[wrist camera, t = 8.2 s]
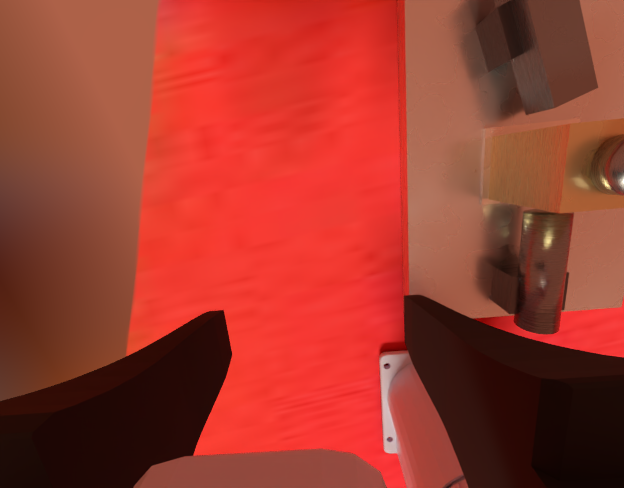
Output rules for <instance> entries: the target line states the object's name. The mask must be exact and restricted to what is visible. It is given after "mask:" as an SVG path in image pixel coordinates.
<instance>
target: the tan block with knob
mask: <svg viewBox="0 0 624 488" xmlns="http://www.w3.org/2000/svg"><path fill="white" fill-rule="evenodd" d="M489 200H494V201H499V202H504V203H509V204H514V205H519V206H524V207H529V208H534V209H540V210H545V211H550V212H555V213H570V212H582V211H593V210H605V209H616V208H624V118H621V119H611V120H601V121H591V122H581V123H571V124H565V125H559V126H553V127H547V128H541V129H535V130H529V131H523V132H517V133H511V134H505V135H499V136H494V137H492V151H491V167H490V184H489Z"/></svg>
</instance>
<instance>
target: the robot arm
mask: <svg viewBox="0 0 624 488" xmlns="http://www.w3.org/2000/svg"><path fill="white" fill-rule="evenodd" d="M404 328H405V344H406V347H407V350H406V351H392V352H383V353H382V354H381V355H380V356H379V365H380V386H381V407H382V429H383V447H384V450H385V452H387V453H397V454H398V457H399V461H400V464H401V468H402V472H403V475H404V479H405V483H406V486H407V488H624V358H622V357H615V356H608V355H601V354H596V353H590V352H585V351H580V350H574V349H569V348H565V347H560V346H556V345H552V344H548V343H544V342H540V341H536V340H532V339H528V338H525V337H522V336H518V335H515V334H512V333H509V332H506V331H503V330H500V329H497V328H494V327H492V326H489V325H486V324H484V323H481V322H479V321H477V320H474V319H472V318H470V317H467V316H465V315H463V314H461V313H459V312H456V311H454V310H452V309H450V308H448V307H446V306H444V305H442V304H440V303H438V302H436V301H434V300H432V299H430V298H428V297H425V296H423V295H420V294H418V295H405V296H404ZM231 357H232V351H231V346H230V341H229V335H228V330H227V325H226V320H225V315H224V310H220V311H209V312H206V313H204V314H202V315H200V316H198V317H196V318H195V319H193V320H191V321H190V322H188V323H186V324H184V325H183V326H181V327H179V328H178V329H176V330H174V331H173V332H171V333H169V334H168V335H166V336H164V337H162V338H161V339H159V340H157V341H155V342H154V343H152V344H150V345H148V346H146V347H145V348H143V349H141V350H139V351H137V352H135V353H133V354H131V355H129V356H127V357H125V358H122V359H120V360H118V361H116V362H114V363H111V364H109V365H107V366H104V367H102V368H99V369H97V370H94V371H92V372H89V373H87V374H84V375H82V376H79V377H77V378H74V379H71V380H68V381H66V382H63V383H60V384H57V385H54V386H51V387H48V388H45V389H41V390H38V391H35V392H32V393H28V394H25V395H22V396H18V397H14V398H11V399H7V400H3V401H0V488H387V487H386V485H385V482H384V480H383V477H382V475H381V472H380V471H378V470H377V469H376V468H374V467H373V466H371V465H370V464H368V463H367V462H365V461H364V460H362V459H361V458H359V457H358V456H356V455H355V454H353V453H349V452H342V451H335V450H329V449H304V450H287V451H269V452H252V453H234V454H217V455H199V456H193V454H194V451H195V448H196V445H197V442H198V440H199V437H200V435H201V432H202V430H203V428H204V425H205V423H206V421H207V419H208V416H209V414H210V412H211V410H212V407H213V405H214V403H215V401H216V399H217V396H218V394H219V392H220V389H221V387H222V385H223V383H224V380H225V378H226V375H227V371H228V368H229V364H230V361H231ZM386 363H389V365H387V366H384V364H386ZM388 437H390V438H388Z"/></svg>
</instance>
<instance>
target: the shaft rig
mask: <svg viewBox="0 0 624 488" xmlns="http://www.w3.org/2000/svg"><path fill="white" fill-rule="evenodd" d="M397 24H398V71H399V119H400V166H401V213H402V261H403V308H404V296H405V295H418V294H420V295H423V296H425V297H428V298H430V299H432V300H434V301H436V302H438V303H440V304H442V305H444V306H446V307H448V308H450V309H452V310H454V311H456V312H459V313H461V314H463V315H465V316H467V317H470V318H485V317H498V316H511V315H514V323H515V324H516V325H517V326H518V327H520V328H522V329H524V330H526V331H529V332H533V333H538V334H554V333H556V332H558V331H559V326H560V318H561V312H564V311H577V310H590V309H603V308H616V307H621V306H622V301H623V296H624V208H616V209H605V210H593V211H582V212H570V213H555V212H550V211H545V210H540V209H534V208H529V207H524V206H519V205H514V204H509V203H504V202H499V201H494V200H489V184H490V167H491V151H492V137H494V136H499V135H505V134H511V133H517V132H523V131H529V130H535V129H541V128H547V127H553V126H559V125H565V124H571V123H581V122H591V121H601V120H611V119H621V118H624V0H397Z"/></svg>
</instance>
